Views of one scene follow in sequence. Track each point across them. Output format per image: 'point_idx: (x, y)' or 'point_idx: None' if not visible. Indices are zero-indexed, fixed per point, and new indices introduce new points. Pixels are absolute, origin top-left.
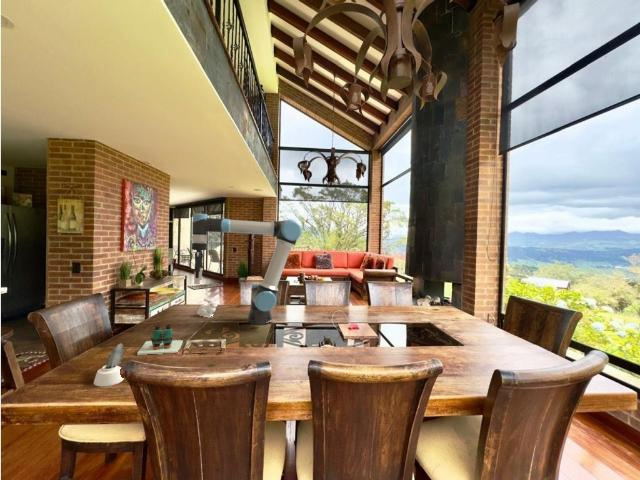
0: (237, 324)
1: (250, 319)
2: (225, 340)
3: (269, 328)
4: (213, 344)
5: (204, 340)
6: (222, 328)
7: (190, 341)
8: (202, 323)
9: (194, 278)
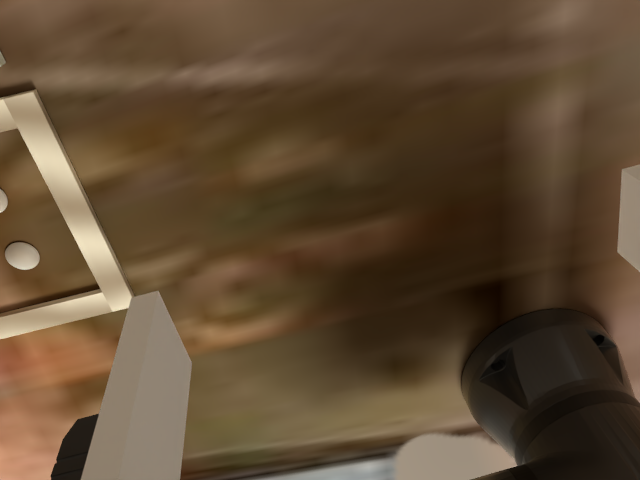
0: (472, 276)
1: (496, 355)
2: (112, 309)
3: (397, 433)
4: (37, 263)
5: (70, 201)
6: (376, 217)
7: (15, 122)
8: (499, 40)
9: (111, 378)
